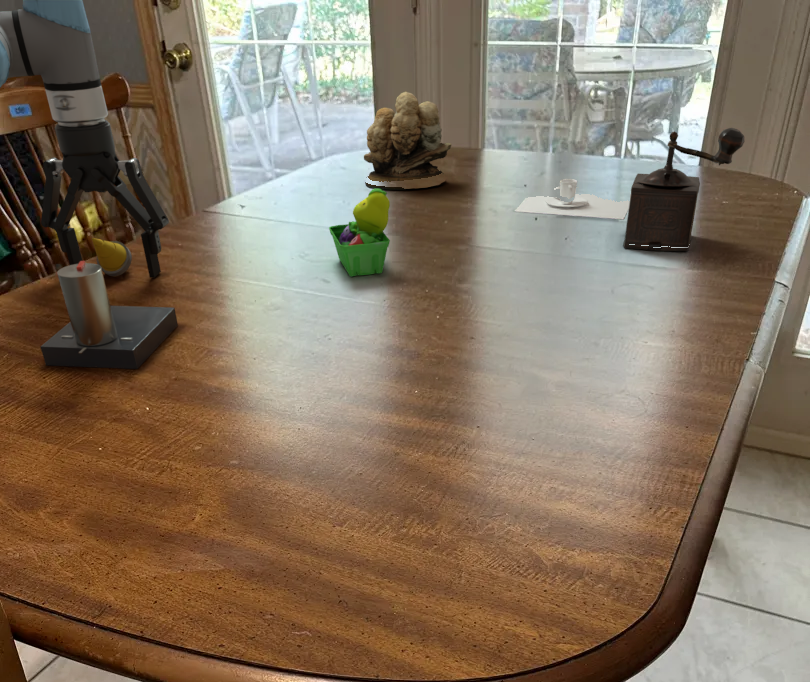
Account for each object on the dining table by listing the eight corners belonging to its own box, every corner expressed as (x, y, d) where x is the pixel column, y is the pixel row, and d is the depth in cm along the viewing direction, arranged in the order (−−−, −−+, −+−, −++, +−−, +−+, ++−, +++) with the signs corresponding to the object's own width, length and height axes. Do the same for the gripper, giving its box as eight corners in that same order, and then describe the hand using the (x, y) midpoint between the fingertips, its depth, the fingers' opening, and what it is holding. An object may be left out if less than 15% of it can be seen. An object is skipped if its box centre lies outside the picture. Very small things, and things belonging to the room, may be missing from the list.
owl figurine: (449, 175, 177) (450, 85, 166) (452, 189, 167) (453, 94, 157) (365, 177, 177) (361, 87, 167) (363, 191, 167) (358, 97, 157)
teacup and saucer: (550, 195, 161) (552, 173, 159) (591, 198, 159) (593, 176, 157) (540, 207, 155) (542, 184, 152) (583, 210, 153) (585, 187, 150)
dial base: (39, 371, 101) (33, 350, 100) (94, 322, 114) (89, 303, 112) (132, 374, 100) (127, 354, 98) (178, 325, 112) (174, 306, 111)
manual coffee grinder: (621, 249, 134) (637, 127, 123) (627, 230, 142) (643, 114, 132) (721, 257, 130) (747, 131, 119) (722, 236, 138) (746, 117, 128)
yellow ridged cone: (145, 272, 132) (114, 243, 122) (117, 290, 132) (84, 261, 122) (131, 246, 132) (99, 214, 123) (103, 263, 133) (69, 233, 123)
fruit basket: (329, 257, 134) (324, 184, 127) (383, 252, 136) (380, 179, 129) (343, 280, 125) (338, 202, 118) (400, 274, 127) (398, 197, 120)
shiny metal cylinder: (114, 344, 101) (96, 273, 96) (72, 347, 101) (52, 275, 95) (120, 329, 105) (103, 259, 100) (80, 331, 105) (61, 261, 99)
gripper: (-13, 126, 115) (32, 280, 128) (153, 126, 112) (182, 283, 125) (15, 116, 121) (55, 264, 134) (173, 116, 118) (199, 267, 131)
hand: (116, 273), depth 129 cm, fingers open, 12 cm apart
